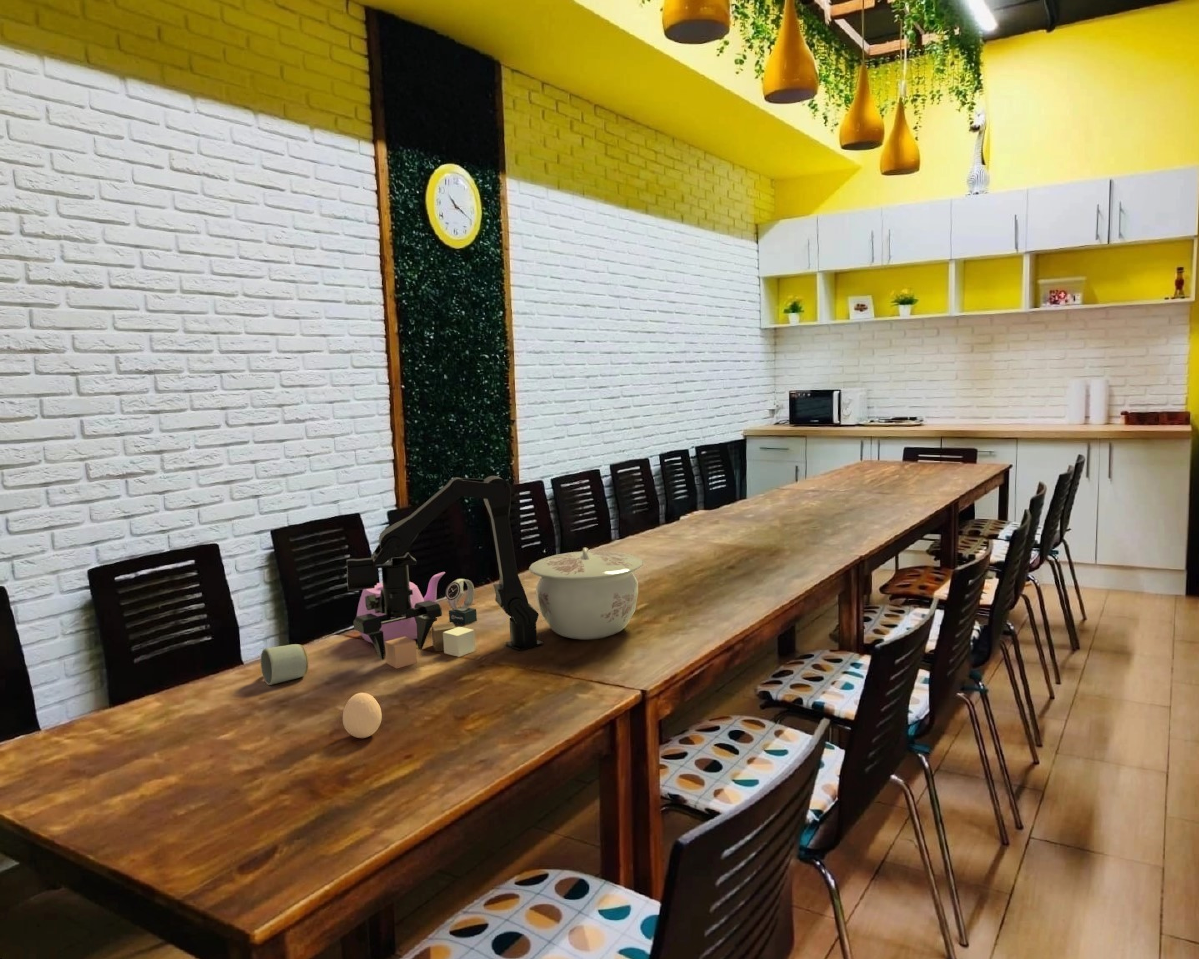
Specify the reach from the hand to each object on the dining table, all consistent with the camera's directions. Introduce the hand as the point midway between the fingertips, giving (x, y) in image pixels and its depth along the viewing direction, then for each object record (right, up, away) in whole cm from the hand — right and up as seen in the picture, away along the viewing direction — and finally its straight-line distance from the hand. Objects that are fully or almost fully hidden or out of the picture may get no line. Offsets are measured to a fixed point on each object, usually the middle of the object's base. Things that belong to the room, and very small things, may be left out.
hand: (401, 654), depth 191 cm
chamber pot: (+42, +2, +17) cm, 45 cm away
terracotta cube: (0, -2, 0) cm, 2 cm away
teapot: (-6, 0, +20) cm, 21 cm away
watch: (+9, +2, +30) cm, 32 cm away
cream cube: (+12, -1, +6) cm, 13 cm away
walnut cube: (+8, 0, +10) cm, 13 cm away
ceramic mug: (-24, -4, -6) cm, 25 cm away
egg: (+2, -7, -39) cm, 40 cm away
